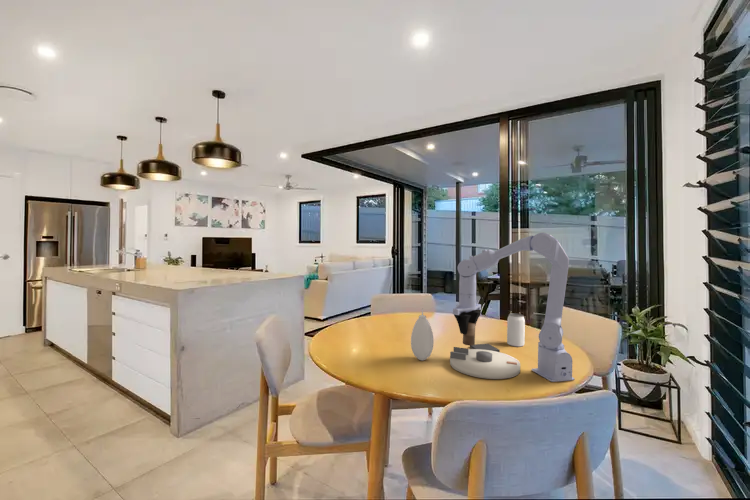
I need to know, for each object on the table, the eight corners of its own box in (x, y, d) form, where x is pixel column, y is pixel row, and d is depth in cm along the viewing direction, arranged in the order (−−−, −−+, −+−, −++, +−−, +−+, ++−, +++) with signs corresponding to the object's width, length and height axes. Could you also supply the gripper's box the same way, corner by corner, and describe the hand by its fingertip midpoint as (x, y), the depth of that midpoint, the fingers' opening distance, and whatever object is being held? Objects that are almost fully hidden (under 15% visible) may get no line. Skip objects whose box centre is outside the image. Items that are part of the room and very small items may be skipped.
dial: (520, 359, 118) (520, 348, 118) (519, 384, 98) (520, 370, 98) (456, 351, 127) (456, 340, 127) (443, 371, 107) (443, 359, 107)
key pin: (476, 344, 119) (477, 324, 118) (469, 346, 116) (470, 325, 116) (467, 341, 122) (468, 321, 121) (460, 343, 119) (461, 323, 119)
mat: (499, 352, 127) (499, 349, 127) (479, 353, 125) (479, 351, 125) (488, 346, 135) (488, 343, 135) (469, 347, 133) (469, 344, 133)
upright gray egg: (432, 364, 114) (433, 310, 114) (409, 362, 116) (410, 309, 115) (433, 356, 122) (434, 306, 121) (411, 355, 123) (412, 305, 123)
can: (506, 345, 136) (506, 315, 135) (508, 341, 141) (508, 312, 141) (523, 347, 133) (524, 317, 132) (525, 343, 138) (525, 314, 138)
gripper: (469, 290, 127) (468, 327, 127) (445, 294, 117) (445, 333, 117) (486, 292, 122) (486, 330, 122) (463, 297, 112) (462, 338, 112)
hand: (467, 332), depth 119 cm, fingers closed on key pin, 4 cm apart
